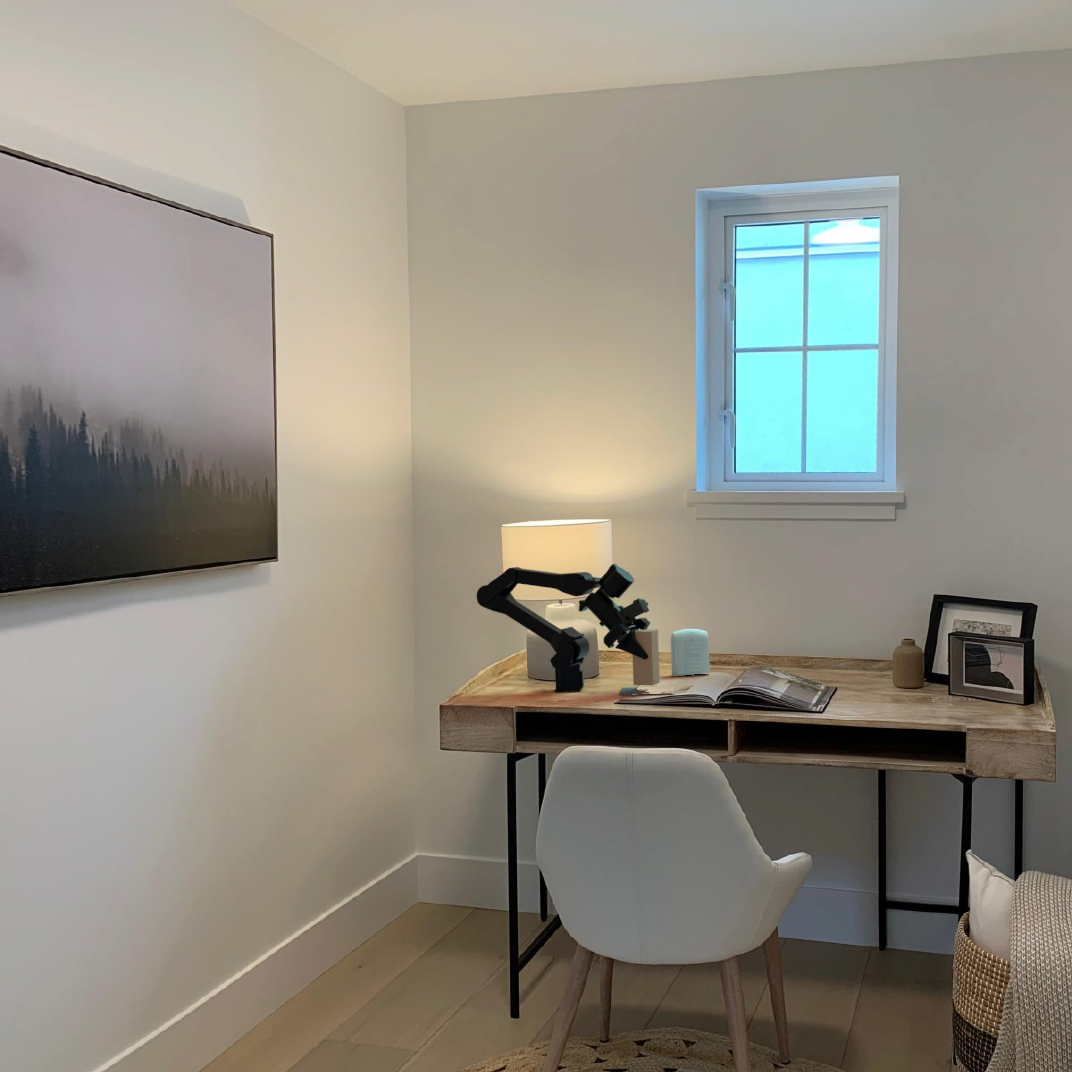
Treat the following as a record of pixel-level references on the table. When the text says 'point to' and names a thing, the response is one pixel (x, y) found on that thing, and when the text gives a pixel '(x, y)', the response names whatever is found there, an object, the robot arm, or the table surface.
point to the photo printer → (689, 652)
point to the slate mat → (630, 691)
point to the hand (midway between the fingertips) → (651, 656)
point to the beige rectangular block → (649, 668)
